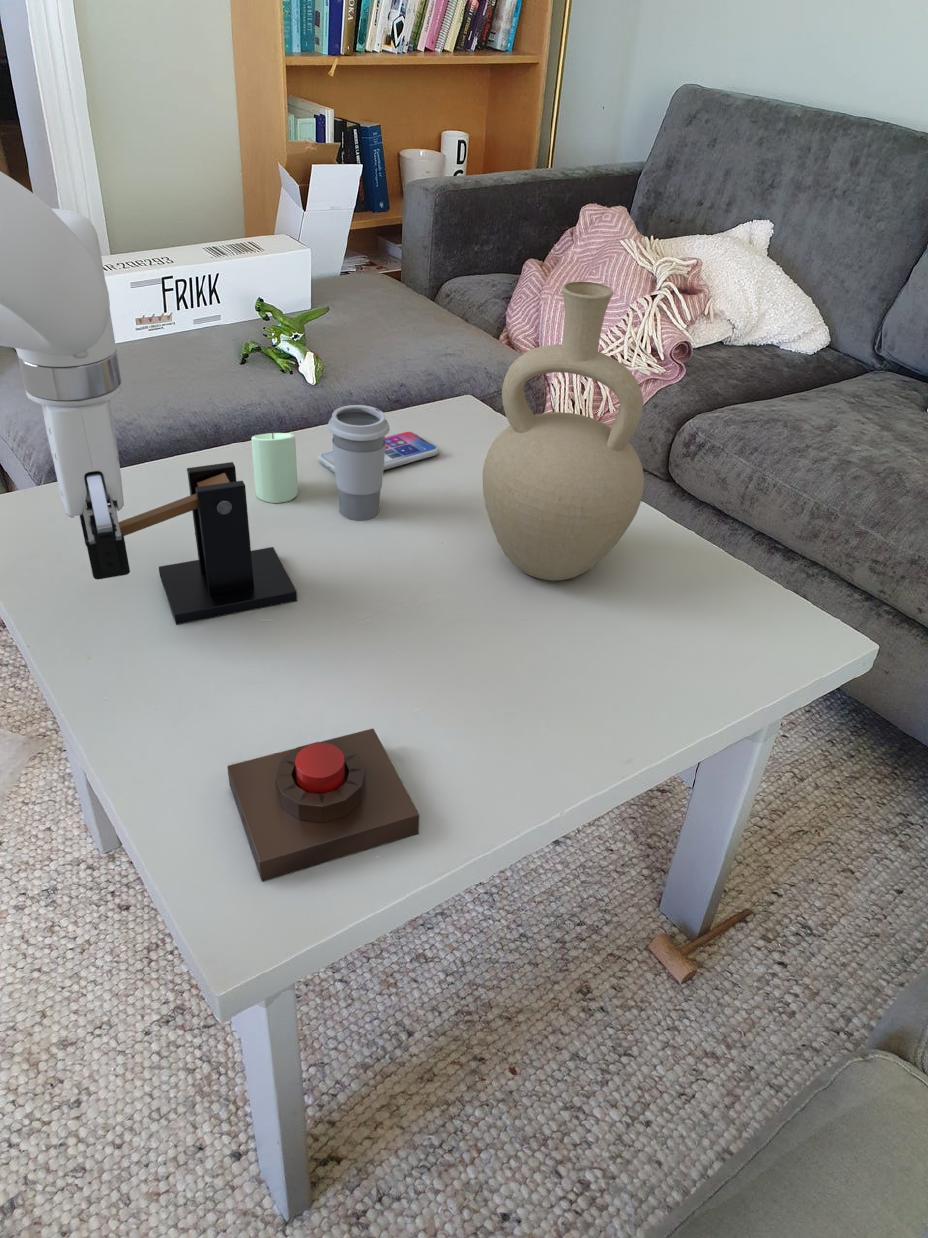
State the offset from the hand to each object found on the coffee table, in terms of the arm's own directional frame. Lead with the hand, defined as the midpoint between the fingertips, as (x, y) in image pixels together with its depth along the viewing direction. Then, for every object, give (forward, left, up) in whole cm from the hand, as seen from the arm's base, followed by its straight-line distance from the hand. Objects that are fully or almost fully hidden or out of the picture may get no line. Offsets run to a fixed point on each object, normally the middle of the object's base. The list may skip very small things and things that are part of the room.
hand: (107, 557), depth 86 cm
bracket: (+11, 0, -6) cm, 12 cm away
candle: (+21, +18, -6) cm, 28 cm away
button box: (+11, -32, -6) cm, 34 cm away
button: (+11, -32, -2) cm, 34 cm away
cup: (+29, +11, -6) cm, 31 cm away
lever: (+6, 0, +3) cm, 7 cm away
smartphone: (+36, +23, -6) cm, 43 cm away
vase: (+45, -7, -6) cm, 46 cm away
